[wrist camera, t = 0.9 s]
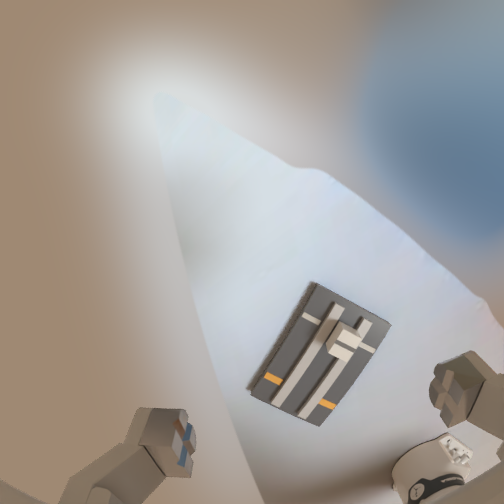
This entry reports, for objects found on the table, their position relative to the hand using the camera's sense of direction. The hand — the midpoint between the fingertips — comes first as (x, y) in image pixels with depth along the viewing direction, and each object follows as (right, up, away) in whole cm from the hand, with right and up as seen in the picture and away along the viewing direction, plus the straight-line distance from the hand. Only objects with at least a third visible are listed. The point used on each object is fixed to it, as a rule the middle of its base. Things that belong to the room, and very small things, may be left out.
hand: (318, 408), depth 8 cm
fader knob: (+12, -8, +35) cm, 38 cm away
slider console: (+9, -13, +38) cm, 41 cm away
